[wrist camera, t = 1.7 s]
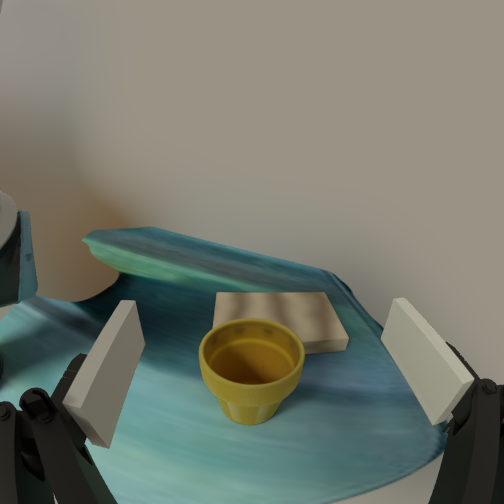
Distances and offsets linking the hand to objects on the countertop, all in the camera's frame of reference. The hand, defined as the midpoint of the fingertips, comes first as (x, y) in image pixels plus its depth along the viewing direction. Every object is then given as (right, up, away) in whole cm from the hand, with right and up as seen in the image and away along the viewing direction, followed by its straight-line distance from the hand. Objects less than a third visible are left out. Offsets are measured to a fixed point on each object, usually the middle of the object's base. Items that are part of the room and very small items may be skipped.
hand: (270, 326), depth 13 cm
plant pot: (-1, -15, +16) cm, 22 cm away
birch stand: (+3, -9, +31) cm, 33 cm away
